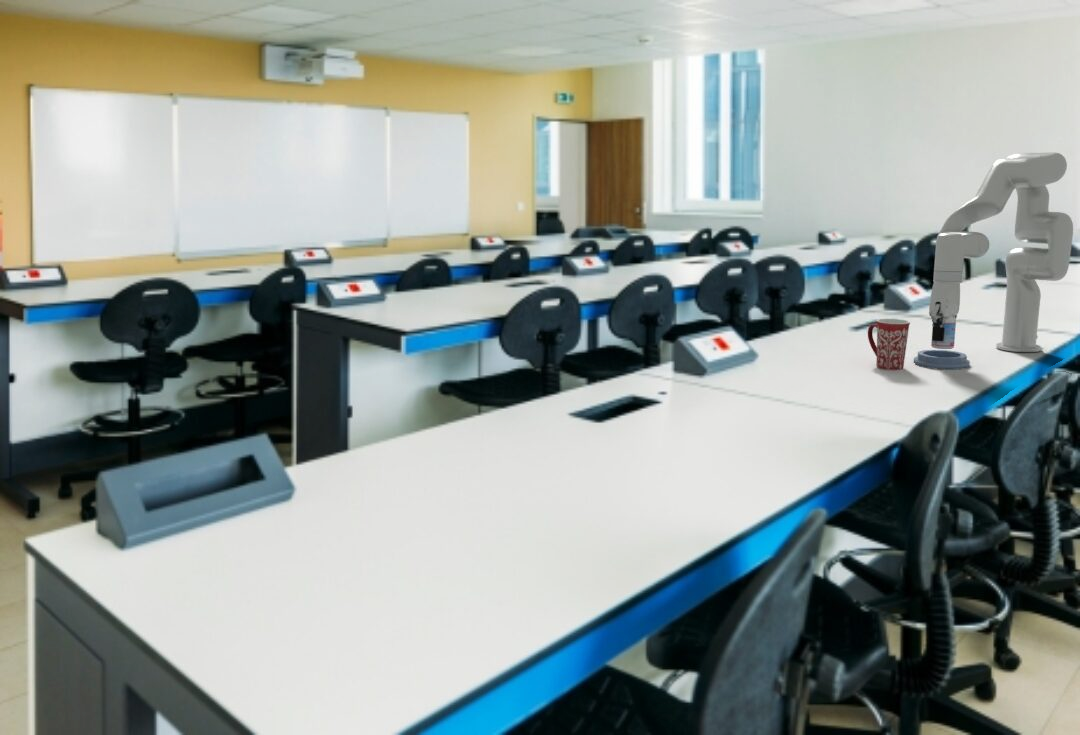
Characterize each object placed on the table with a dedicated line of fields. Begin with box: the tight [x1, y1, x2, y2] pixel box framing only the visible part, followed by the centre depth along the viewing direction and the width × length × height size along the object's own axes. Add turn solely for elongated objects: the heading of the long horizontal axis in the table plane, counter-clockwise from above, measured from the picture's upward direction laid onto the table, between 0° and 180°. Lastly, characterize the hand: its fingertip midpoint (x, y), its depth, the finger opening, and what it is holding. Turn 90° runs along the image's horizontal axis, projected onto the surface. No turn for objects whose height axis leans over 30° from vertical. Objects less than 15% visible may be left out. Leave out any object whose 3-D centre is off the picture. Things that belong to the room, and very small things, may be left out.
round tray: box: [913, 349, 971, 370], centre depth 273 cm, size 15×15×3 cm
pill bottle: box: [930, 310, 957, 350], centre depth 271 cm, size 6×6×11 cm
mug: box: [867, 318, 911, 371], centre depth 270 cm, size 13×9×14 cm
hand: (942, 338), depth 272 cm, fingers closed on pill bottle, 6 cm apart
